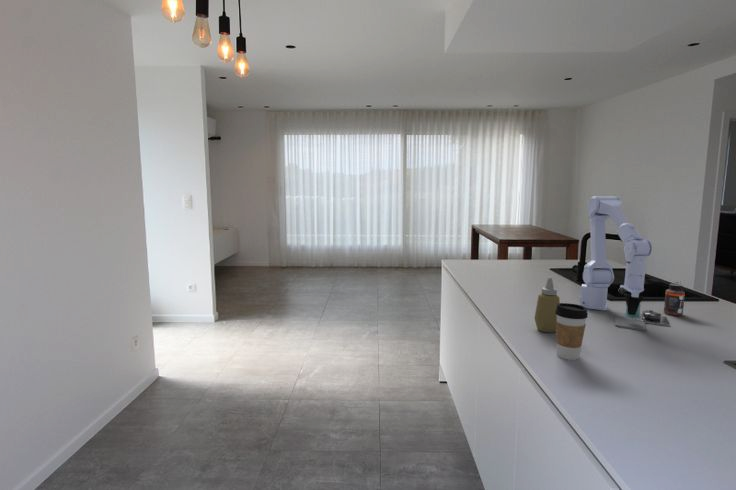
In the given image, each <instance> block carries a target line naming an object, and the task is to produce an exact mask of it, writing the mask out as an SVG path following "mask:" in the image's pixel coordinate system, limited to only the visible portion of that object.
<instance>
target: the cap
mask: <svg viewBox="0 0 736 490" xmlns="http://www.w3.org/2000/svg"><path fill="white" fill-rule="evenodd" d="M640 313H641V303H640V304H639V306H638V309H637V312H636V314H635V315H630V314H628V310H627V307H626V309H625V312H624V317H626V318H628V319H635V318H640V317H641V316H640V315H639V314H640Z"/></svg>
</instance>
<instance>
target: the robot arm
mask: <svg viewBox="0 0 736 490" xmlns="http://www.w3.org/2000/svg"><path fill="white" fill-rule="evenodd" d="M622 207H623V202H622V200H621V198H620V197H619V196H618V195H611V196H605V195H602V196H601V195H600V196H599V195H598V196H597V195H594V196H591V198H590V199H589V200H588V202H587V214H588V216H587V217H588V218H589V219H590V220H589V222H590V224H589V225H590V261H588V263H585V265H584V267H583V272H582V280H583V282H584V283H582V284H581V288H580V296H579V302H580V303H579V305H581V306H584V307H586V308H587V309H589V310H592V309H593V310H597V311H598V310H599V311H605V312H607V311H608V304H607V299H608V288H609V287H610V286H611V285H612V283H613V282H614V281H615V274H614V270H613V266H612V264H610V263H609V262H608V261H607V247H606V245H607V244H606V241H607V240H606V221H607V220H608V219H611V220H612V221H613V223H614V224H615V226H616V227H617V228H618V229H616V230H617V231H616V233H617V235H618V237H619V239H620V240H621V241H622V243H623V245H624V246H623V252H624V256H625V257H624V260H625V261H626V264H625V272H624V273H625V274H624V275H625V276H624V283H623V284H620V286H619V288H621V289H623V290H622V292H623V294H624V295H623V296H624V298H625V302H626V303H625V304H626V308H627V310H628V314H630V315H635V314H636V312H637V309H638V306H639V304H640V305H641V302H642V301H643V300H644V298H645V297H644V296H643V295H642V294H643V292H644V291H645V288H644V286H645V279H646V277H645V276H646V268H647V266H646V265H647V257H649V256H650V255H651V254H652V251H653V247H652V243H651V241H650V240H649V239H645V237H642V236H641V234H640V233H639V231H638V230H637V228H636V226H635V225H634V224H633V223H629V221H628V220H627V218H626V215H625V213H624V212H623V210H622Z"/></svg>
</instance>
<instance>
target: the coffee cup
mask: <svg viewBox="0 0 736 490" xmlns="http://www.w3.org/2000/svg"><path fill="white" fill-rule="evenodd" d="M555 314H557V319H556V331H555V334H556V355H557V356H558V357H559V358H561V359H565V360H571V361H576V359H577V360H579V358H580V356H581V350H582V345H583V340H584V335H585V330H586V325H587V324H586V319H587V318H589V316H588V315H589V314H588V308H586V307H584V306H581V305H580V304H575V303H568V302H567V303H566V302H565V303H564V302H560V303H558V304H557V307H556V310H555Z"/></svg>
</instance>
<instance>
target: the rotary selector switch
mask: <svg viewBox="0 0 736 490" xmlns="http://www.w3.org/2000/svg"><path fill="white" fill-rule="evenodd" d="M639 315H640V316H641V317H640V318H634V319H635V320H636V321H643V322H644V323H645V324H650V325H657V326H664V327H670V323H669V321H668V317H667V316H663V315H662V314H661V312H656V311H654V310H653V309H648V310H644V311H642V312H640V314H639Z"/></svg>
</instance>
